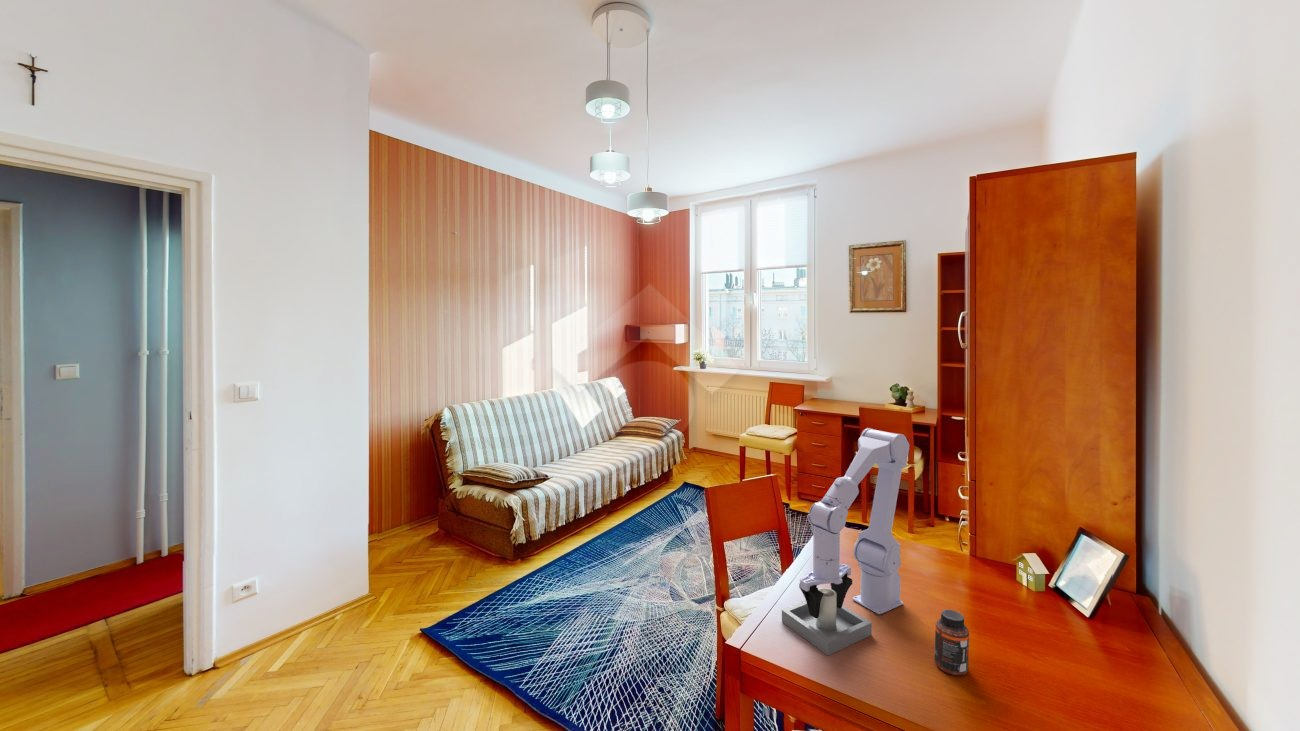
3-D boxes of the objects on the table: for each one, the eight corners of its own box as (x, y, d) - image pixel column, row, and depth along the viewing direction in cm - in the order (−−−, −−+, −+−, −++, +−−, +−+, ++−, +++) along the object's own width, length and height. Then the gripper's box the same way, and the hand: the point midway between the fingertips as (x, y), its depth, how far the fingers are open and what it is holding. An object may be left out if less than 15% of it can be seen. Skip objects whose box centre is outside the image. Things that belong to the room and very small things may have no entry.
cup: (824, 617, 118) (824, 585, 117) (840, 627, 114) (840, 593, 114) (812, 623, 116) (812, 591, 115) (827, 633, 112) (828, 599, 111)
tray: (823, 605, 125) (823, 593, 125) (871, 635, 113) (871, 622, 112) (781, 621, 118) (781, 609, 118) (828, 655, 106) (828, 642, 106)
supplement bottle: (973, 679, 98) (975, 625, 97) (940, 675, 99) (942, 621, 98) (960, 659, 104) (962, 607, 103) (930, 655, 105) (931, 605, 104)
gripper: (817, 570, 107) (816, 629, 108) (862, 554, 114) (861, 610, 115) (793, 557, 113) (793, 613, 114) (837, 542, 120) (836, 596, 121)
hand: (825, 611), depth 115 cm, fingers open, 7 cm apart
